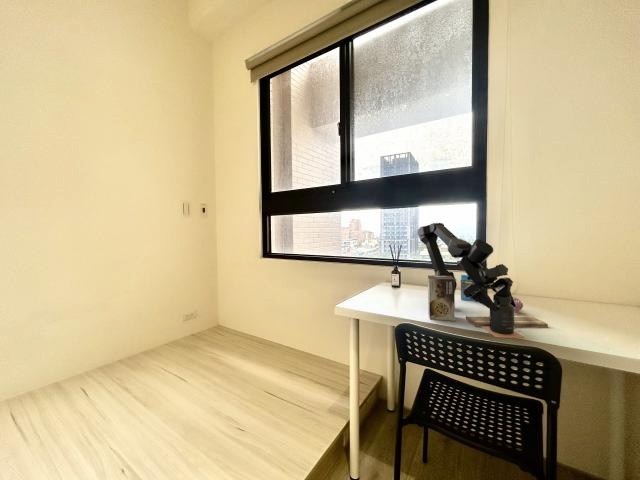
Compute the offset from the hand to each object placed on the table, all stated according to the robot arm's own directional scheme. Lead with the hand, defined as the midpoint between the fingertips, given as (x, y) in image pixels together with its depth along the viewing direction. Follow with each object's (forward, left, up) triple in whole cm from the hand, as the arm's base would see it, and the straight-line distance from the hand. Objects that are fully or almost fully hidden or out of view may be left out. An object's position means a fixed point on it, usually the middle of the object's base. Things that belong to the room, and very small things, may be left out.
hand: (505, 308), depth 85 cm
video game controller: (+11, +25, -9) cm, 29 cm away
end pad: (-1, +1, -8) cm, 8 cm away
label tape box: (0, +39, -8) cm, 40 cm away
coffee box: (-18, +12, -8) cm, 23 cm away
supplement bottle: (-1, +1, -8) cm, 8 cm away
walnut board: (+3, +10, -8) cm, 13 cm away
